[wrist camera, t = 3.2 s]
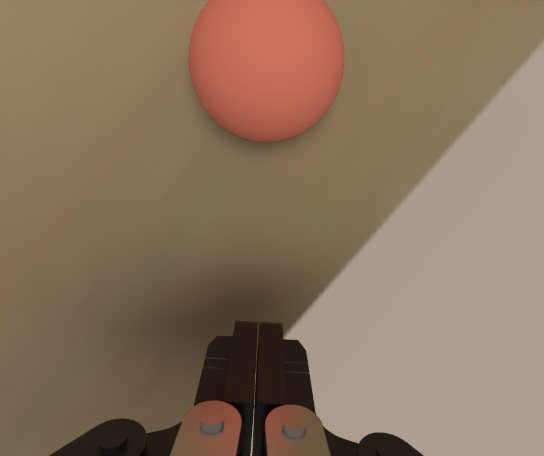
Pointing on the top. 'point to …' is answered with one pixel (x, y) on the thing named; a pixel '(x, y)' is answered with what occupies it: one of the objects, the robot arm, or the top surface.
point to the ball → (266, 65)
